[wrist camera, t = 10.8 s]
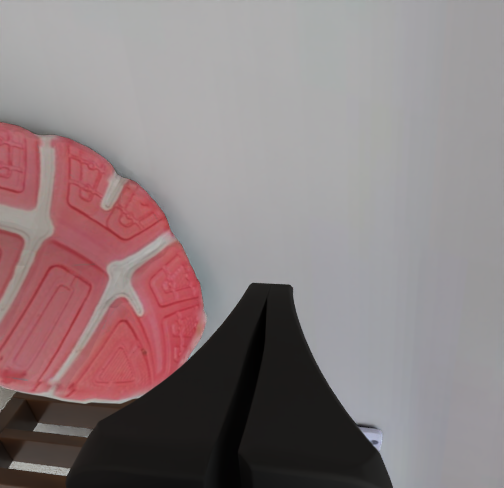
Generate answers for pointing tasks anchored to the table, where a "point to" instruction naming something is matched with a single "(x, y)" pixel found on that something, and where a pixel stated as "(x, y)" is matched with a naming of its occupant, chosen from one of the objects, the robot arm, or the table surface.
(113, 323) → the athletic shoe
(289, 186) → the table surface
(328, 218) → the table surface
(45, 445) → the rack
